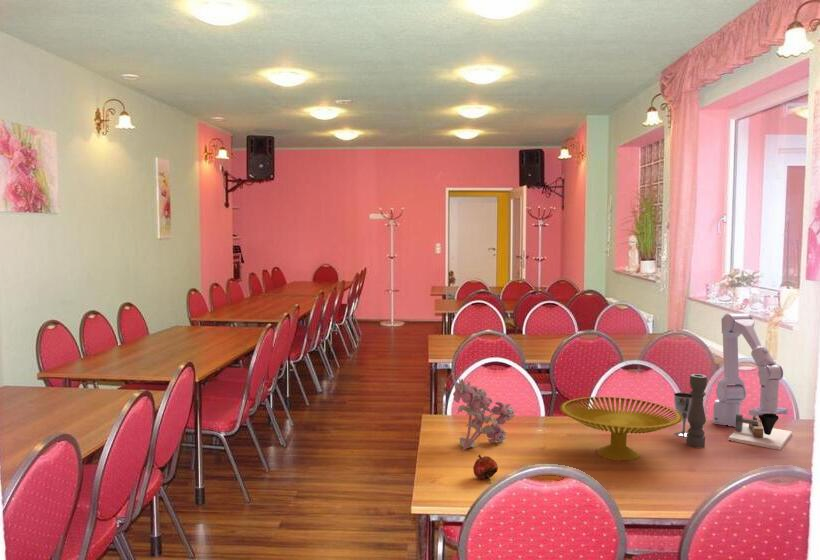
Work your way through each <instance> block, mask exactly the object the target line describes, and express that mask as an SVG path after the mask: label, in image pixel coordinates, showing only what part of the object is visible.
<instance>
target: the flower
mask: <svg viewBox="0 0 820 560" xmlns="http://www.w3.org/2000/svg"><path fill="white" fill-rule="evenodd" d="M452 395H453V400H454V402H456V403H457V404H459V403H460V401H462V403H464V404H466V405H464V404H463V405H459V407H458V409H457V414H460V412H463V411H464V412H466V416H469V417H468V423H467V424H466V425H465V427H467V434H466V437H463V436H462V437H459V443H460V445H461V447H462V449H461V451H462V452H464V451H465V450H467V449H469V448H473V449H474V448H475V445H476V444H475V443H476V442H475V441H476V440H477V439H478V438H479V437H480V435H481V434H484V435H486V437H487V438H488V439H487V440H488V442H489V443H495V442H498V443H499V444H503V443H504V440H508V438H507V434H508V432H507V431H505V430H504V429H503V427H502V425H504V424H505V423H506V422H507V421H512V419H513V418H514V417H515V416H516V415H515V414H516V413H517V411H515V408H513V407H510V406H511V405H512V404H511V403H507V404H505V405H504V403H503V402H502V401H496V402H494V404H495V405H493V407H492V408H490V406H491V404H492V403H493V399H492V398H491V397H489V396H487V392H486V389H485V388H484V389H483V388H478V386H477V385H476V384H475V385H473V386H472V385H471V381H467V383H466V381H464V379H463V378H458V381H454V392H453V393H452ZM486 412H489V413H490V414H489V415H486ZM494 415H495V416H498V417H497V418H494ZM472 416H473V417H474V418H472ZM489 422H492V423H491V424H488V423H489ZM484 423H485V424H488V425H484V427H483V424H484ZM472 428H474V429H475V431H474V433H472V435H471V437H470V433H471V430H472Z"/></svg>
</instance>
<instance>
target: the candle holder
mask: <svg viewBox="0 0 820 560" xmlns="http://www.w3.org/2000/svg"><path fill="white" fill-rule="evenodd" d="M689 385H690V388H691V391H689V393H690V394H691V396H692V404H691V407H690V411H689V414H688V418H687V422H688V424H689V428H688V429H687V432H688V434H687V437H685V438H686V439H685V440H686V446H688V445H689V447H691V446H693V447H692V448H696V447H701V448H704V447H703V446H705V444H706V443H705V442H706V436H705V434H706V433H705V431H704V429H703V428H704V425H705V424H706V420H707V418H706V413H705V408H704V407H705V406H704V397H706V396H707V394H706V393H707V392H705V390H706V388H707V386H708V376H707V375H705V374H699V373H690V375H689Z"/></svg>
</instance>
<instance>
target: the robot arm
mask: <svg viewBox="0 0 820 560" xmlns="http://www.w3.org/2000/svg"><path fill="white" fill-rule="evenodd" d="M721 334H722V354H723V377H721V378H720V379H719V380H718V381H717V382H716V383H717V384H716V385H717V386H716V389H715V395H716V397H717V399H715V400H714V403H713V410H712V411H713V412H712V424H716V425H721V426H726V425H728V427H732V426H733V428H735V426H736V415H737V414H740V415H741V404H743V401H744V400H745V399H746V397H747V390H746V387H745V386H746V385H745V381H743V379H741V378H740V376H739V374H740V373H739V339H738V338H739V337H740V336H741V335H742V336H743V339H745V340H746V342H747V345H749V347H750V348H751V352H750V353H751V357H752V359H753V360H754V362H755V365H756V367H757V368H758V370H757V376H758V380H759V384H760V398H759V400H760V402H759V407H757V408H756V407H755V408H749V409H748V416H751V417H753V416H755V415H757V417H758V418H759V420H761V425H762V426H763V429H764V434H767V435H770V434H771V431H772V429H773V428H774V426H775V424H776V423H777V422H778V420H779V415H788V414H789V409H788V408H786V407H778V405H779V404H778V403H779V400H778V399H779V386H780V385H779V384H780V380H782V379H783V377H784V370H783V368H782V365H781V364H779V363H777V362H776V361H775V360H773V357H772V355H771V354H770V352H769V350H768V348H767V347H765V346H762V344H761V341H760V339H759V337H758V335H757V333H756V331H755V320H754V318H753V316H752V314H751V313H748V312H747V313H725V314H724V315H723V317H722V318H721Z"/></svg>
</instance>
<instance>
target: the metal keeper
mask: <svg viewBox="0 0 820 560" xmlns="http://www.w3.org/2000/svg"><path fill="white" fill-rule="evenodd" d="M759 420H760V419H759ZM759 420H753V418H746V417H744V414H741V413H740V414H737V415H736V426H735V427H734V428H735V429H734V432H735V431H739V432H741V431H742V425H743V423H745V424H755V425H758V424H759Z"/></svg>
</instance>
